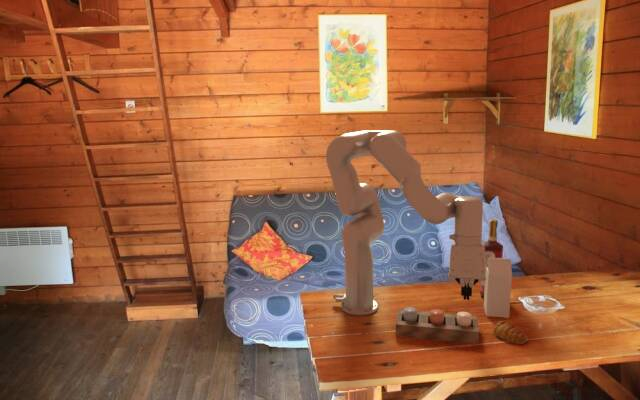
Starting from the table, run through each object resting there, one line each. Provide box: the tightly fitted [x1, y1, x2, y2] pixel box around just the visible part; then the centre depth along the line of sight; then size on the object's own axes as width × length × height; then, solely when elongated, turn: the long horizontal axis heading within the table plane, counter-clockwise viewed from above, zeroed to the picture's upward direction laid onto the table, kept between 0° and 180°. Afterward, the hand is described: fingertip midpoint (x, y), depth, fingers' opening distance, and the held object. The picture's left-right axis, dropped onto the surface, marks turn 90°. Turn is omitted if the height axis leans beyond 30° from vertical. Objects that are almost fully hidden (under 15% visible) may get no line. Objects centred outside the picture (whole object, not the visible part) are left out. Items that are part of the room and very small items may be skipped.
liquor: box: [479, 219, 504, 297], centre depth 168 cm, size 7×7×28 cm
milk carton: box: [483, 257, 513, 319], centre depth 157 cm, size 7×7×19 cm
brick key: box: [429, 308, 445, 325], centre depth 147 cm, size 4×4×4 cm
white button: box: [456, 311, 473, 327], centre depth 145 cm, size 4×4×4 cm
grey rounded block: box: [403, 306, 418, 322], centre depth 149 cm, size 4×4×4 cm
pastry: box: [493, 320, 528, 345], centre depth 143 cm, size 9×7×4 cm
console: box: [395, 309, 480, 345], centre depth 147 cm, size 24×10×4 cm, turn 76°
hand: (466, 297), depth 143 cm, fingers closed
